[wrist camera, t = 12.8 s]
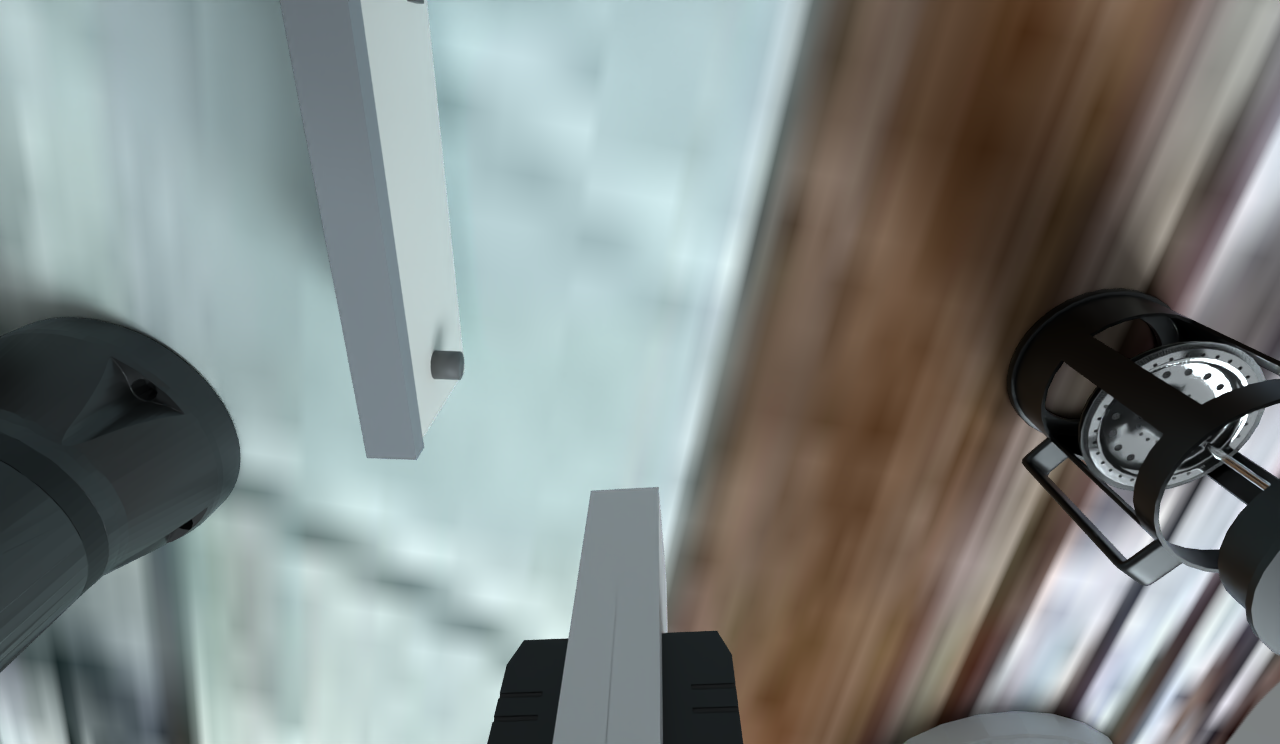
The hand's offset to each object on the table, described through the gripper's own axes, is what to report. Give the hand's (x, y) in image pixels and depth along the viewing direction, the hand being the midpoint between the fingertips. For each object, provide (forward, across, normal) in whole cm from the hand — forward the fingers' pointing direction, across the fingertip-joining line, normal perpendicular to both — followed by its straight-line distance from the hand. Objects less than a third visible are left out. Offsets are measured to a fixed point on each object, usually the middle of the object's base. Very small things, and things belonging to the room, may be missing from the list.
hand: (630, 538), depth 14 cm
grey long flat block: (+21, -10, +6) cm, 24 cm away
